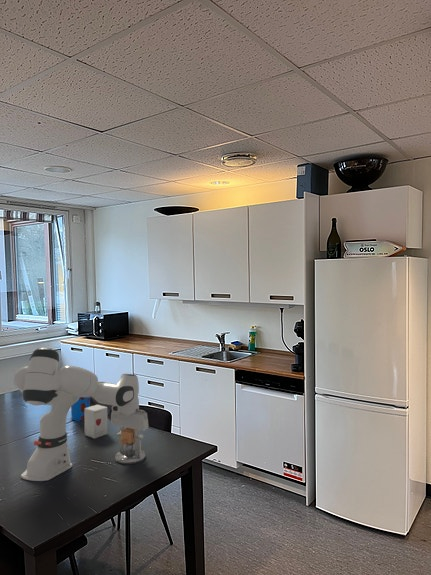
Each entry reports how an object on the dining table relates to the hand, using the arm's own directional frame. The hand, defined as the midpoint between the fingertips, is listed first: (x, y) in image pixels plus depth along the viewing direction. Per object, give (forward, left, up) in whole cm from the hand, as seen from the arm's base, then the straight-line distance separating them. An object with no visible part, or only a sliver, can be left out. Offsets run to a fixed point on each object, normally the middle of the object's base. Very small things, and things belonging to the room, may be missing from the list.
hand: (129, 436), depth 202 cm
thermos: (+47, +54, -10) cm, 72 cm away
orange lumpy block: (0, 0, -2) cm, 2 cm away
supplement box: (+24, +31, -11) cm, 41 cm away
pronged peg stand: (0, 0, -10) cm, 10 cm away
